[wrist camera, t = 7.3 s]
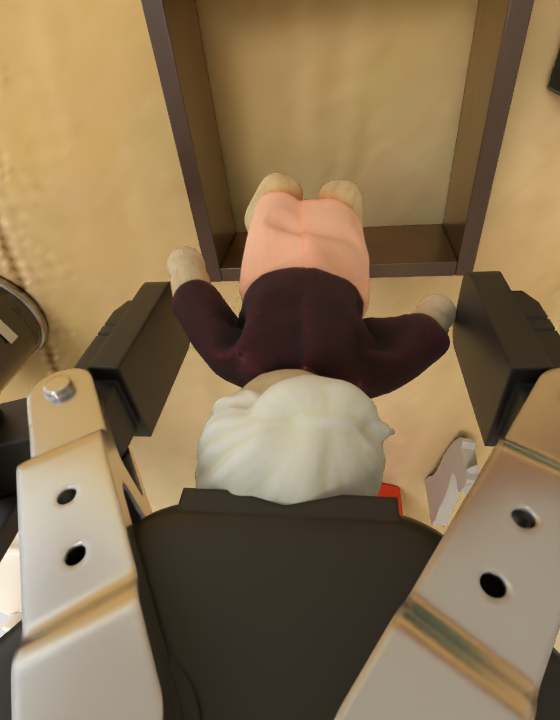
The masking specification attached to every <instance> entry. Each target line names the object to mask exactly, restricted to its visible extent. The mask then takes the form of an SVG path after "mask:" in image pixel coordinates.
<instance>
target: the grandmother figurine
mask: <svg viewBox="0 0 560 720" xmlns="http://www.w3.org/2000/svg"><path fill="white" fill-rule="evenodd" d="M302 195H303V193H302V188H301V186H300V185H299V183H298V182H297V181H296V180H295V179H294V178H292V177H290V176H288V175H285V174H282V173H272V174H269V175H268V176H266V177H265V178H264V179H263V180H262V182H261V183H260V185H259V187H258V189H257V191H256V193H255V195H254V196H253V198H252V200H251V202H250V204H249V206H248V208H247V210H246V214H245V226H246V229H247V231H248V236H247V240H246V245H245V250H244V255H243V260H242V266H241V274H240V282H239V293H240V295H241V298H242V302H243V303H242V309H241V311H240V313H239V318H238V317H237V316H236V315H235V314H234V312H233V311H232V310H231V308H230V307H229V306H228V304H227V303H226V302H225V300H224V299H223V298H222V296H221V294H220V293H219V292H218V291H217V289H216V288H215V287H214V286H213V285H211V281H210V278H209V275H208V274H207V272H206V271H205V267H206V265H205V261H204V259H203V257H202V255H201V254H200V253H199V252H198V251H197V250H196V249H193V248H191V247H180V248H177V249H175V250H174V251H173V252H172V253H171V254H170V256H169V257H168V260H167V271H168V273H169V275H170V277H171V290H172V296H173V298H172V304H171V307H172V310H173V312H174V314H175V316H176V318H177V319H178V321H179V322H180V324H181V326H182V328H183V330H184V332H185V334H186V335H187V337H188V339H189V340H190V342H191V343H192V345H193V346H194V348H195V349H196V351H197V352H198V353H199V354H200V356H201V357H202V358H203V359H204V361H205V362H206V363H207V364H208V365H209V367H210V368H211V369H212V370H213V371H214V372H215V373H216V374H217V375H218V376H220V377H221V378H223V379H224V380H226V381H228V382H230V383H233V384H235V385H237V386H239V387H241V388H242V389H241V390H240V391H239V392H236V393H234V394H233V395H231V396H227V397H222V398H219V399H218V400H217V401H216V403H215V405H214V407H213V410H212V417H211V418H210V419H209V420H208V421H207V423H206V424H205V427H204V429H203V431H202V434H201V437H200V441H199V446H198V454H197V461H198V463H197V467H196V472H195V479H196V488H198V489H221V490H228V491H229V492H230V493H231V494H234V495H239V496H255V497H258V498H261V499H264V500H268V501H271V502H274V503H278V504H281V505H292V504H297V503H302V502H307V501H312V500H317V499H323V498H328V497H333V496H338V495H359V496H377V494H378V492H379V490H380V488H381V484H382V477H383V471H384V468H385V462H386V459H385V455H384V451H383V447H382V445H383V442H384V440H385V439H386V438H387V437H388V436H390V435H393V434H394V433H395V430H394V429H390V427H389V425H387V424H386V423H384V422H383V421H381V420H380V418H379V416H378V413H377V409H376V406H375V405H374V403H373V401H372V400H371V398H375V397H378V396H381V395H384V394H387V393H390V392H392V391H394V390H396V389H398V388H400V387H402V386H403V385H405V384H407V383H408V382H410V381H412V380H413V379H414V378H416V377H417V376H419V375H420V374H421V373H422V372H423V371H425V370H426V369H427V368H428V367H429V366H431V365H432V364H433V363H434V362H436V361H437V360H438V359H439V358H441V357H442V356H443V355H444V354H445V353H446V351H447V350H448V349H449V345H450V340H449V336H448V331H449V328H450V327H451V326H452V324H453V322H454V321H455V318H456V308H455V305H454V304H453V302H452V301H451V300H450V299H449V298H447V297H445V296H443V295H438V294H432V295H429V296H427V297H425V298H423V299H422V300H421V301H420V302H419V303H418V305H417V307H416V309H415V311H414V312H413V313H412V314H404V315H401V316H397V317H388V318H373V317H371V318H364V319H363V317H364V315H365V313H366V311H367V309H368V304H369V291H370V279H369V255H368V250H367V247H366V243H365V239H364V233H363V196H362V192H361V190H360V188H359V187H358V186H357V185H356V184H355V183H353V182H351V181H348V180H332V181H329V182H328V183H326V184H325V185H324V186H323V187H322V188H321V189H320V191H319V194H318V196H317V199H310V200H302Z"/></svg>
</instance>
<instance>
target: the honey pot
mask: <svg viewBox="0 0 560 720" xmlns="http://www.w3.org/2000/svg"><path fill="white" fill-rule="evenodd" d="M21 609H22V605H21V580H20V554H19V531H18V533H17V535H16V537H15V538H14V540H13V542H12V543H11V545H10V547H9V548H8V550H7V552H6V554H5V555H4V557H3V559H2V560H1V562H0V612H1V613H3V614H6V615H9V616H10V617H9V618H8V619H7V620H6V621H5V623H4V624H3V625H2V627H1V629H2V630H4V631H6V632H8V631H9V630H10V629H11V628H12V627H13V626H15V625H16V624H17V623H18V622H19V621H20V620H22V612H18V611H19V610H21Z"/></svg>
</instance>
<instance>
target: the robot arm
mask: <svg viewBox="0 0 560 720" xmlns="http://www.w3.org/2000/svg"><path fill="white" fill-rule="evenodd" d="M172 298H173V296H172V290H171V282H146V283H144V284H143V285H142V287H141V288H140V290H139V291H138V292H137V294H136V295H135V297H134V298H133V300H132V301H127V302H126V303H125V304H123V305H122V306H121V307H119V308H118V309H117V310H115V311H114V312H113V313H112V315H111V316H110V318H109V319H108V320H107V322H106V323H105V326H103V327H102V329H101V330H100V332H99V333H98V336H96V337H95V339H94V340H93V341H92V343H91V344H90V346H89V347H88V348H87V350H86V351H85V353H84V354H83V356H82V357H81V358H80V360H79V361H78V363H77V364H76V365H75V367H74V368H70V369H64V370H61V371H57V372H55V373H53V374H51V375H49V376H47V377H45V378H44V379H42V380H41V381H39V382H38V383H37V384H36V385H35V386H34V387H33V388H32V389H31V391H30V392H29V394H28V397H27V398H24V399H20V400H15V401H11V402H7V403H2V404H0V562H1V560H2V559H3V557H4V555H5V554H6V552H7V550H8V548H9V547H10V545H11V543H12V542H13V540H14V538H15V537H16V535H17V533H18V531H19V554H20V580H21V605H22V620H20V621H19V622H18V623H17V624H16V625H15V626H13V627H12V628H11V629H10V630H9V631H8V632H7V633H5V634H4V635H3V636H2V637H1V638H0V720H560V653H559V652H558V651H557V650H556V649H555V648H554V647H553V646H554V643H555V640H556V637H557V634H558V631H559V628H560V335H559V334H558V332H557V331H555V330H554V329H555V327H554V326H553V324H552V323H551V321H550V319H547V317H548V316H547V315H546V313H545V312H544V310H543V308H542V307H541V305H540V304H539V302H537V301H536V300H535V299H533V298H532V297H530V296H529V295H527V294H526V293H524V292H523V291H511V289H510V288H509V286H508V284H507V282H506V281H505V279H504V277H503V275H502V274H501V272H500V271H487V272H466V273H465V275H464V277H463V280H462V285H461V290H460V294H459V299H458V304H457V309H456V318H455V321H454V324H453V344H454V349H455V352H456V355H457V358H458V361H459V365H460V368H461V371H462V374H463V377H464V381H465V384H466V387H467V390H468V393H469V397H470V400H471V403H472V406H473V409H474V413H475V416H476V419H477V422H478V425H479V429H480V432H481V435H482V438H483V441H484V445H485V446H495V448H494V449H493V451H492V453H491V454H490V456H489V458H488V460H487V461H486V463H485V465H484V466H483V468H482V470H481V472H480V473H479V475H478V477H477V479H476V480H475V482H474V484H473V485H472V487H471V489H470V491H469V492H468V494H467V496H466V498H465V499H464V501H463V503H462V504H461V506H460V508H459V510H458V511H457V513H456V515H455V517H454V518H453V520H452V522H451V523H450V525H449V527H448V529H447V530H446V532H445V534H444V535H442V534H441V533H440V532H438V531H437V530H435V529H433V528H431V527H429V526H428V525H426V524H424V523H422V522H419V521H417V520H415V519H412V518H410V517H407V516H404V515H400V514H399V506H398V497H382V496H359V495H338V496H333V497H328V498H323V499H317V500H312V501H307V502H302V503H297V504H292V505H281V504H278V503H274V502H271V501H268V500H264V499H261V498H258V497H255V496H239V495H234V494H231V493H230V492H229V491H228V490H221V489H198V488H184V489H183V492H182V495H181V498H180V501H179V504H178V505H173V506H170V507H167V508H164V509H161V510H159V511H156V512H154V513H153V512H152V510H151V507H150V504H149V501H148V498H147V495H146V492H145V489H144V486H143V483H142V480H141V477H140V473H139V470H138V467H137V464H136V461H135V458H134V455H133V452H132V450H131V448H130V446H129V444H130V442H131V440H132V438H133V436H147V437H151V435H152V433H153V430H154V428H155V426H156V423H157V421H158V419H159V416H160V414H161V412H162V409H163V407H164V405H165V402H166V400H167V398H168V395H169V393H170V391H171V388H172V386H173V384H174V381H175V379H176V377H177V374H178V372H179V370H180V367H181V365H182V363H183V360H184V358H185V356H186V353H187V351H188V348H189V344H190V340H189V339H188V337H187V335H186V334H185V332H184V330H183V328H182V326H181V324H180V322H179V321H178V319H177V318H176V316H175V314H174V312H173V310H172V307H171V304H172ZM47 337H48V327H47V323H46V320H45V318H44V316H43V314H42V312H41V311H40V309H39V308H38V306H37V305H36V304H35V303H34V301H33V300H32V299H31V298H30V297H29V296H27V295H26V294H25V293H24V292H23V291H22V290H20V289H19V288H18V287H16V286H15V285H13V284H12V283H10V282H8V281H6V280H4V279H2V278H0V393H1V392H2V391H3V389H4V388H5V387H6V386H7V385H8V384H9V382H10V381H11V380H12V379H13V378H14V377H15V375H16V374H17V373H18V372H19V371H20V370H21V369H22V367H23V366H24V365H25V364H26V363H27V362H28V360H29V359H30V358H31V357H32V356H33V355H34V354H35V353H36V352H37V351H38V350H39V349H40V348H41V347H42V346H43V345H44V343H45V342H46V340H47Z"/></svg>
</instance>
